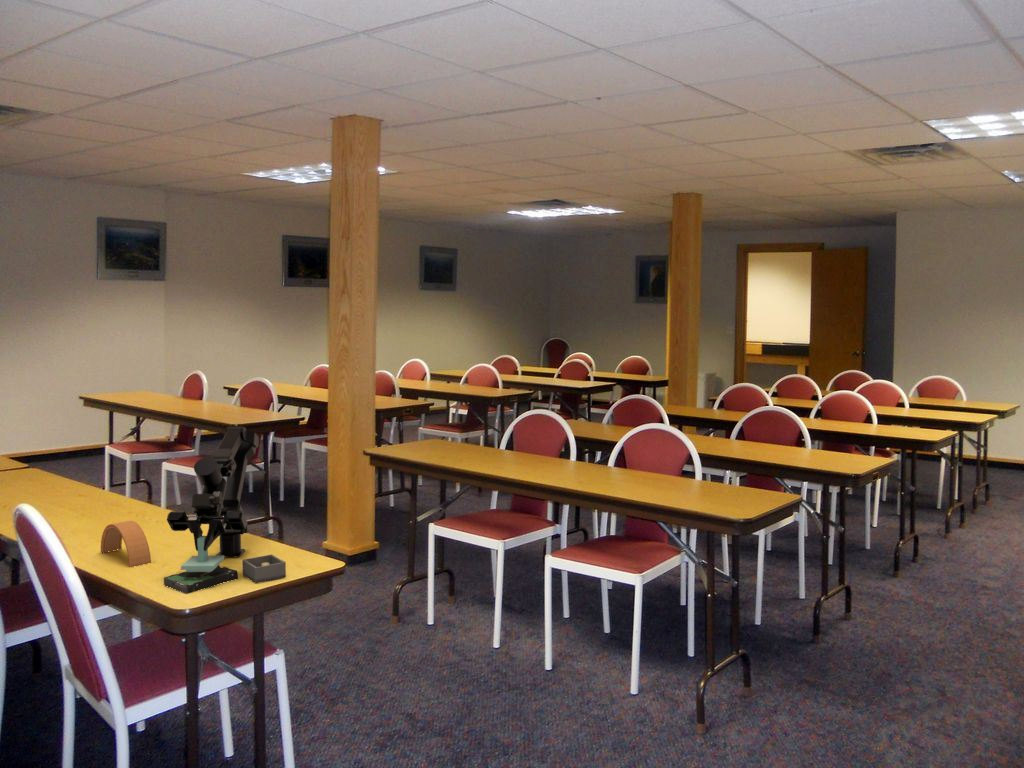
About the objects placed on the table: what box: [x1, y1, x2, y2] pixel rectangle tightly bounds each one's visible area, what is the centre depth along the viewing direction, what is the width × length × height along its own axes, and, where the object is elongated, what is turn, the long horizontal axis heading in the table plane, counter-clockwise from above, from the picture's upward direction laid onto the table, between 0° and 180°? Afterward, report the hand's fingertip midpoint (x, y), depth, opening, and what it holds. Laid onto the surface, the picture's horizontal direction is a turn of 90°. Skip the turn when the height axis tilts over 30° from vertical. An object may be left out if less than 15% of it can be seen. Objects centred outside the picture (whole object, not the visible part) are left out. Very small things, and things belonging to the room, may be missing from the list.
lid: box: [180, 535, 225, 572], centre depth 220 cm, size 9×8×8 cm
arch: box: [100, 520, 152, 568], centre depth 241 cm, size 6×20×10 cm, turn 46°
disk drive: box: [163, 564, 239, 595], centre depth 221 cm, size 10×3×15 cm
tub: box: [241, 554, 287, 584], centre depth 226 cm, size 9×8×4 cm
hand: (200, 550), depth 218 cm, fingers closed on lid
